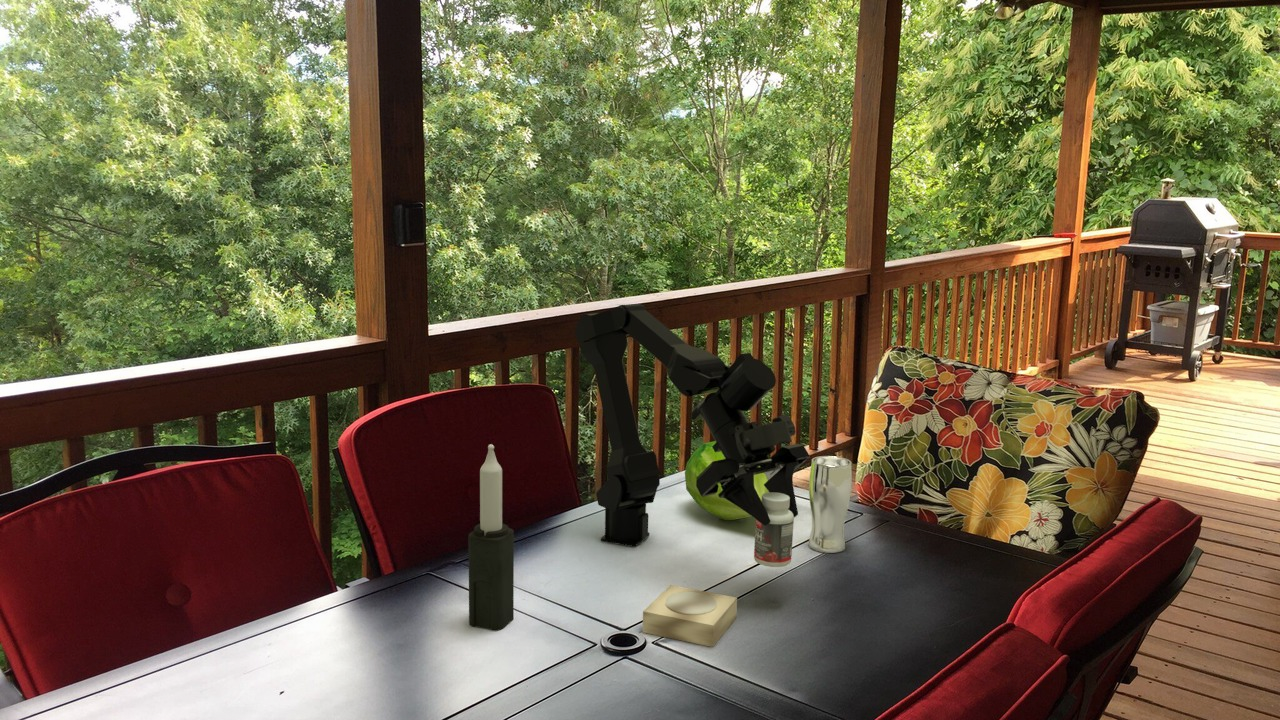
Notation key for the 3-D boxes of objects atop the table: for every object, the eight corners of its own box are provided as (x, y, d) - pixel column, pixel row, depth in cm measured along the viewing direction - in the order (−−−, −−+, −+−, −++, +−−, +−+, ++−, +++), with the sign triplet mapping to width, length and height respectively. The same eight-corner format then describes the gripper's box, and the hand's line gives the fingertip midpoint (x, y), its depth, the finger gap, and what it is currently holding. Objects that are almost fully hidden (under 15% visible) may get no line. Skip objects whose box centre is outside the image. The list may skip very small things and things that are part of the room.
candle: (516, 616, 138) (516, 441, 134) (499, 631, 134) (499, 450, 129) (483, 611, 140) (482, 438, 136) (465, 625, 135) (464, 446, 131)
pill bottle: (746, 561, 143) (749, 496, 142) (766, 551, 148) (770, 488, 146) (778, 571, 140) (782, 504, 138) (798, 561, 144) (802, 496, 142)
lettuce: (799, 543, 177) (720, 562, 172) (745, 481, 196) (673, 497, 192) (802, 471, 171) (721, 489, 166) (746, 415, 190) (671, 430, 186)
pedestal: (642, 632, 134) (643, 609, 134) (669, 604, 144) (670, 583, 143) (712, 646, 131) (713, 623, 130) (736, 617, 140) (737, 595, 139)
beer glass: (845, 540, 172) (850, 456, 169) (849, 555, 165) (855, 467, 162) (804, 538, 172) (809, 454, 170) (807, 553, 165) (811, 465, 163)
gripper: (713, 405, 137) (768, 504, 130) (803, 391, 149) (858, 480, 142) (673, 448, 144) (723, 543, 138) (762, 431, 156) (812, 518, 149)
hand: (781, 520), depth 142 cm, fingers closed on pill bottle, 5 cm apart
